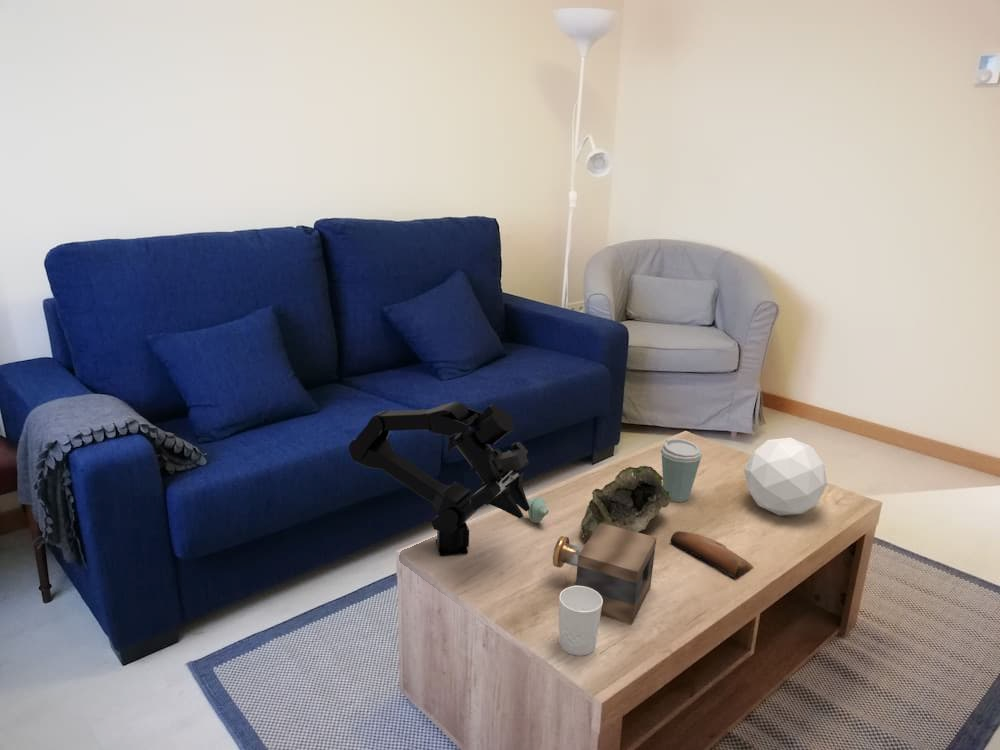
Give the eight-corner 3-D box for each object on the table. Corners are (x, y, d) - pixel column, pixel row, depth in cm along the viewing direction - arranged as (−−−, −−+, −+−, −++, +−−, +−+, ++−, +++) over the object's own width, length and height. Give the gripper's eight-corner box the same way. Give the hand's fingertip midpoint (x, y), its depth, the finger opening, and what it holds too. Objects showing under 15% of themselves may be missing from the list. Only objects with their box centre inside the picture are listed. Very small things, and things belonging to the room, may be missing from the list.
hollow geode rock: (651, 524, 189) (623, 471, 192) (687, 506, 180) (657, 452, 184) (582, 561, 170) (552, 502, 173) (618, 543, 161) (586, 482, 165)
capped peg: (551, 571, 152) (553, 544, 150) (563, 556, 157) (565, 530, 155) (608, 588, 147) (611, 561, 145) (617, 572, 152) (620, 545, 150)
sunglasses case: (757, 567, 163) (752, 549, 159) (739, 590, 161) (734, 573, 157) (691, 532, 176) (685, 515, 172) (673, 553, 174) (667, 537, 170)
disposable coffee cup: (701, 495, 195) (709, 443, 190) (688, 511, 186) (695, 457, 181) (663, 483, 200) (670, 433, 195) (649, 499, 191) (655, 446, 187)
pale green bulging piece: (518, 518, 179) (520, 493, 177) (530, 513, 182) (531, 488, 180) (542, 531, 174) (543, 506, 172) (553, 526, 177) (555, 501, 174)
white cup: (587, 664, 132) (591, 617, 128) (548, 647, 135) (551, 601, 132) (605, 640, 138) (609, 595, 135) (567, 624, 142) (571, 580, 139)
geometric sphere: (785, 543, 186) (797, 509, 170) (725, 490, 197) (731, 454, 181) (835, 497, 191) (852, 460, 175) (774, 448, 202) (784, 409, 186)
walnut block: (573, 606, 147) (578, 554, 143) (596, 571, 159) (600, 522, 155) (632, 625, 142) (638, 571, 139) (650, 587, 154) (656, 537, 151)
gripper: (485, 452, 143) (533, 516, 142) (523, 420, 159) (567, 478, 158) (449, 479, 149) (495, 540, 148) (489, 446, 165) (532, 501, 164)
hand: (524, 513), depth 155 cm, fingers open, 3 cm apart
